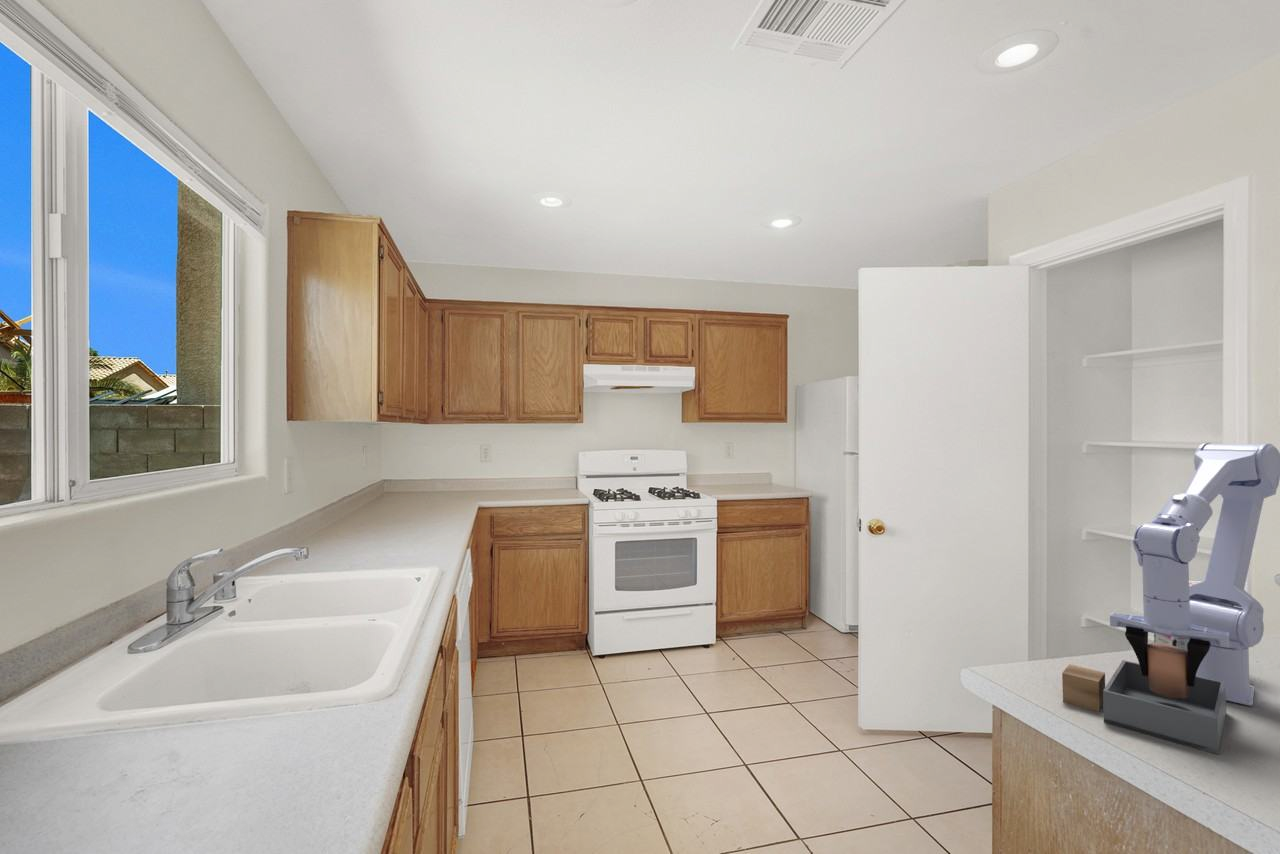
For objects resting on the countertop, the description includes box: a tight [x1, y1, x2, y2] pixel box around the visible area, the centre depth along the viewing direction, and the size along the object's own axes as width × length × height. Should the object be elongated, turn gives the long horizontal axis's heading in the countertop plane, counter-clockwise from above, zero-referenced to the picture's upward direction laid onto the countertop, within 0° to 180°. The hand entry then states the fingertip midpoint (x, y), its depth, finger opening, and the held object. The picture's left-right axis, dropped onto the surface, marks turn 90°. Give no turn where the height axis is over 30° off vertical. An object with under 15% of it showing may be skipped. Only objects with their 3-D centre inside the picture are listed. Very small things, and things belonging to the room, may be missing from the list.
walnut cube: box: [1061, 664, 1106, 712], centre depth 100 cm, size 5×5×5 cm
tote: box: [1102, 659, 1227, 756], centre depth 94 cm, size 17×13×5 cm
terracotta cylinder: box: [1147, 642, 1189, 698], centre depth 96 cm, size 5×5×7 cm
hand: (1167, 679), depth 96 cm, fingers closed on terracotta cylinder, 5 cm apart
